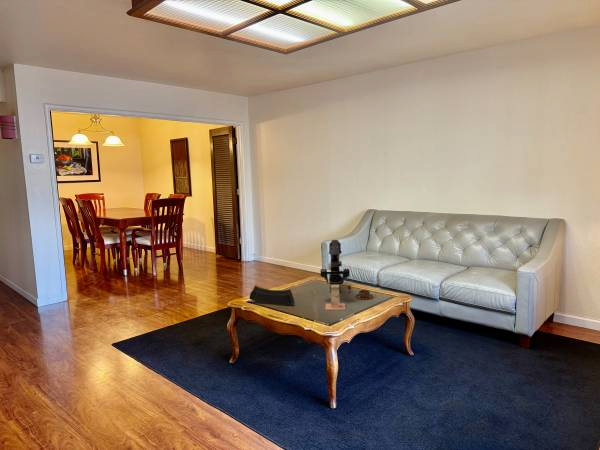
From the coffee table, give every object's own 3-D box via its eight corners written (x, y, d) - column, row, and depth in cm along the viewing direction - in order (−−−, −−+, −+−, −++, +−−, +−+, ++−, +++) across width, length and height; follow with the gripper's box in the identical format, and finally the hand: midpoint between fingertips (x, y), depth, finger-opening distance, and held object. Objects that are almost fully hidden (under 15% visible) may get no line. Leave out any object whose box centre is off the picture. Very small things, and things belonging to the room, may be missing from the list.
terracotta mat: (325, 304, 261) (325, 303, 261) (344, 304, 260) (344, 303, 260) (325, 309, 249) (325, 309, 249) (345, 310, 248) (345, 309, 248)
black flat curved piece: (298, 291, 259) (256, 275, 268) (296, 292, 256) (254, 276, 265) (291, 315, 263) (250, 299, 271) (289, 317, 260) (248, 300, 268)
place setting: (353, 301, 267) (353, 292, 266) (346, 293, 287) (346, 285, 286) (379, 300, 269) (379, 291, 268) (370, 292, 289) (370, 283, 288)
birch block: (331, 305, 257) (331, 284, 256) (339, 305, 257) (339, 284, 256) (331, 307, 252) (330, 286, 251) (339, 307, 252) (339, 286, 251)
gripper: (320, 256, 266) (319, 277, 256) (349, 256, 264) (350, 277, 254) (321, 266, 274) (320, 286, 264) (349, 266, 273) (349, 286, 263)
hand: (335, 284), depth 261 cm, fingers open, 9 cm apart
